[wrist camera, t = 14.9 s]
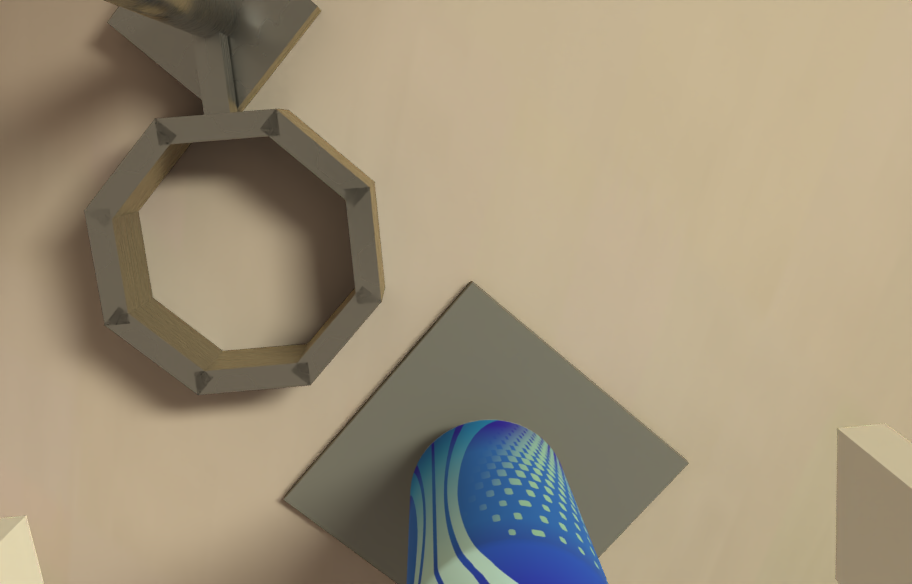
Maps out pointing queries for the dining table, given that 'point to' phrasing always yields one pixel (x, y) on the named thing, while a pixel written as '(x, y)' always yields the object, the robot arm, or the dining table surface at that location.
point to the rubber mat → (470, 399)
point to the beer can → (496, 512)
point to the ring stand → (224, 98)
